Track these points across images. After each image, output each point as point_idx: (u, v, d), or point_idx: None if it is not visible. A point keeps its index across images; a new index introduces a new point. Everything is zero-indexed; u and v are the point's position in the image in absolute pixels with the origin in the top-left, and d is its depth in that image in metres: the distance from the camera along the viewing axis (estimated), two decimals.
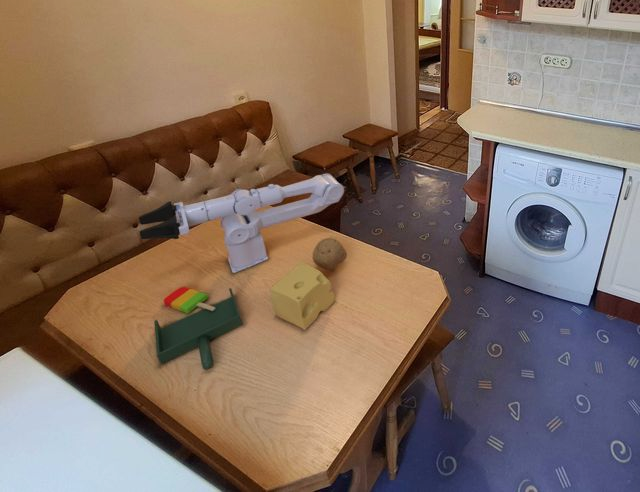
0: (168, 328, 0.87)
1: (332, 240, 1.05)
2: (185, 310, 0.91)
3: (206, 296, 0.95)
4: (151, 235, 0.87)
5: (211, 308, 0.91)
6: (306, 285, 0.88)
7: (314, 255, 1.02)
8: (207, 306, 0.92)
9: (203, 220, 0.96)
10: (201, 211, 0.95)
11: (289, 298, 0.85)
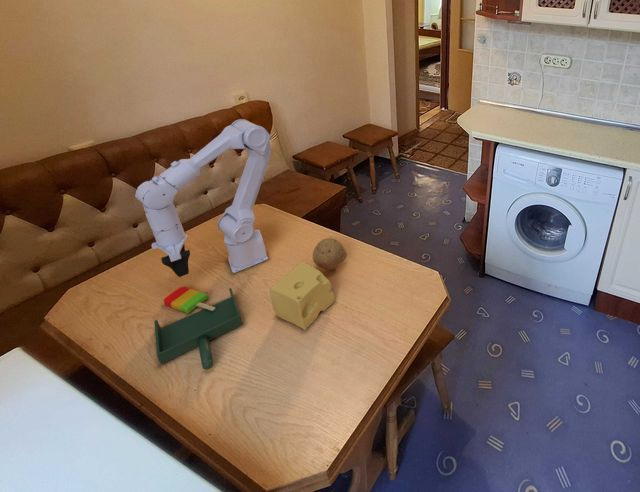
0: (168, 328, 0.87)
1: (332, 240, 1.05)
2: (185, 310, 0.91)
3: (206, 296, 0.95)
4: (184, 269, 0.92)
5: (211, 308, 0.91)
6: (306, 285, 0.88)
7: (314, 255, 1.02)
8: (207, 306, 0.92)
9: (174, 231, 0.89)
10: (160, 235, 0.87)
11: (289, 298, 0.85)
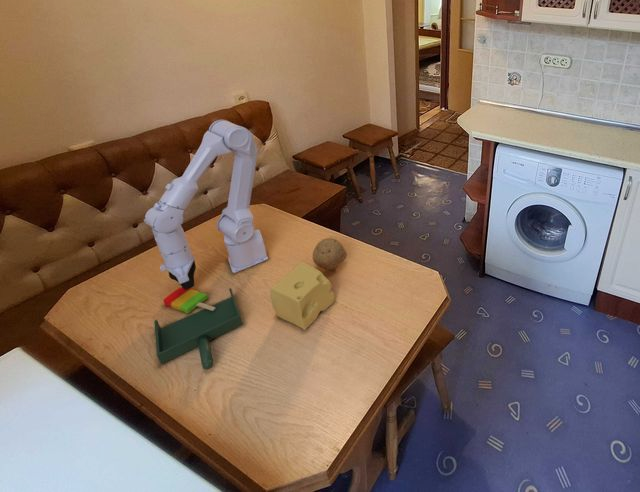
0: (168, 328, 0.87)
1: (332, 240, 1.05)
2: (185, 310, 0.91)
3: (206, 296, 0.95)
4: (190, 282, 0.96)
5: (211, 308, 0.91)
6: (306, 285, 0.88)
7: (314, 255, 1.02)
8: (207, 306, 0.92)
9: (182, 253, 0.91)
10: (168, 258, 0.90)
11: (289, 298, 0.85)
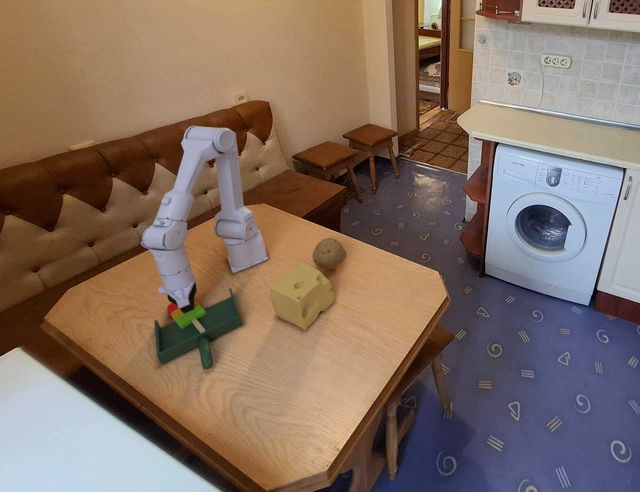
0: (168, 328, 0.87)
1: (332, 240, 1.05)
2: (179, 325, 0.87)
3: (204, 313, 0.90)
4: (189, 305, 0.89)
5: (201, 330, 0.86)
6: (306, 285, 0.88)
7: (314, 255, 1.02)
8: (199, 326, 0.87)
9: (182, 275, 0.84)
10: (168, 279, 0.83)
11: (289, 298, 0.85)
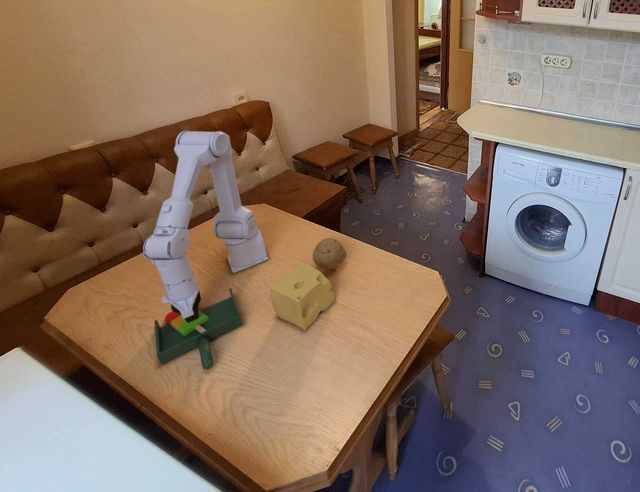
0: (168, 328, 0.87)
1: (332, 240, 1.05)
2: (182, 333, 0.85)
3: (206, 318, 0.89)
4: (194, 314, 0.87)
5: None
6: (306, 285, 0.88)
7: (314, 255, 1.02)
8: None
9: (186, 284, 0.82)
10: (171, 289, 0.81)
11: (289, 298, 0.85)
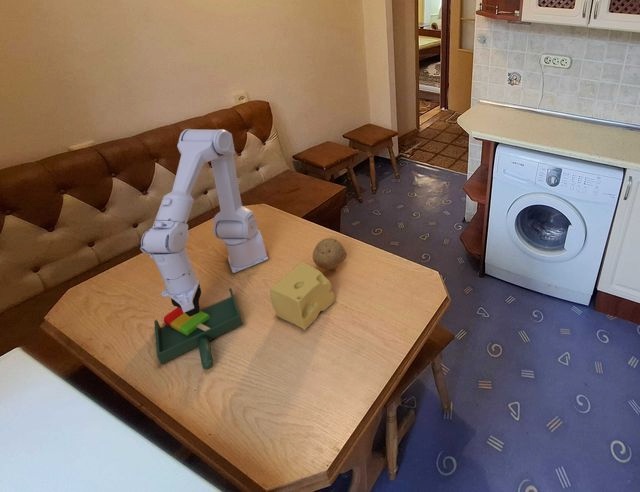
0: (168, 328, 0.87)
1: (332, 240, 1.05)
2: (184, 332, 0.85)
3: (207, 317, 0.89)
4: (194, 308, 0.87)
5: None
6: (306, 285, 0.88)
7: (314, 255, 1.02)
8: (207, 329, 0.86)
9: (186, 278, 0.82)
10: (171, 283, 0.80)
11: (289, 298, 0.85)
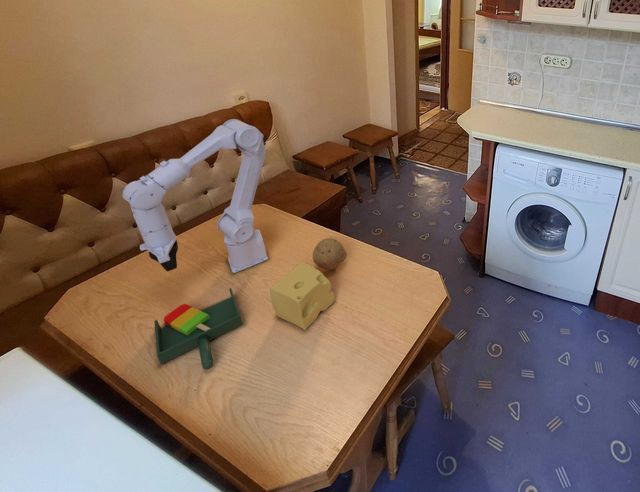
0: (168, 328, 0.87)
1: (332, 240, 1.05)
2: (184, 332, 0.85)
3: (207, 316, 0.89)
4: (172, 263, 0.92)
5: None
6: (306, 285, 0.88)
7: (314, 255, 1.02)
8: (207, 329, 0.86)
9: (162, 232, 0.87)
10: (148, 236, 0.85)
11: (289, 298, 0.85)
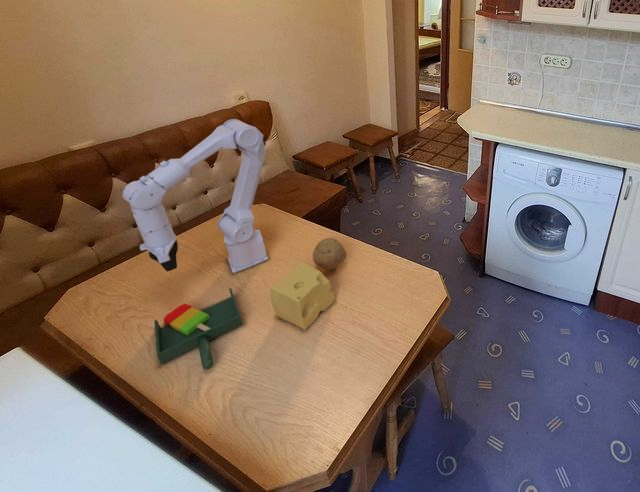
0: (168, 328, 0.87)
1: (332, 240, 1.05)
2: (184, 332, 0.85)
3: (207, 316, 0.89)
4: (172, 263, 0.92)
5: None
6: (306, 285, 0.88)
7: (314, 255, 1.02)
8: (207, 329, 0.86)
9: (162, 232, 0.87)
10: (148, 236, 0.85)
11: (289, 298, 0.85)
